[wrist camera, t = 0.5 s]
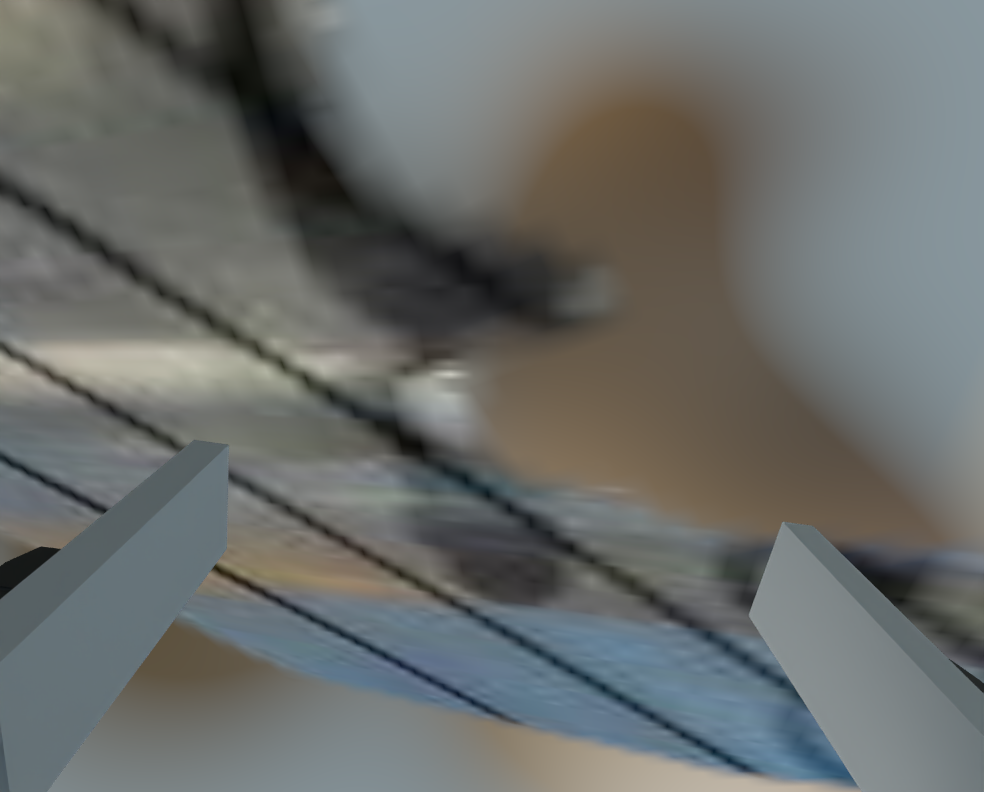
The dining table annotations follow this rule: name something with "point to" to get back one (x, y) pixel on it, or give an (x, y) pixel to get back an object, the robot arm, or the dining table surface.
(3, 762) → the robot arm
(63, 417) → the dining table surface
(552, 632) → the dining table surface
